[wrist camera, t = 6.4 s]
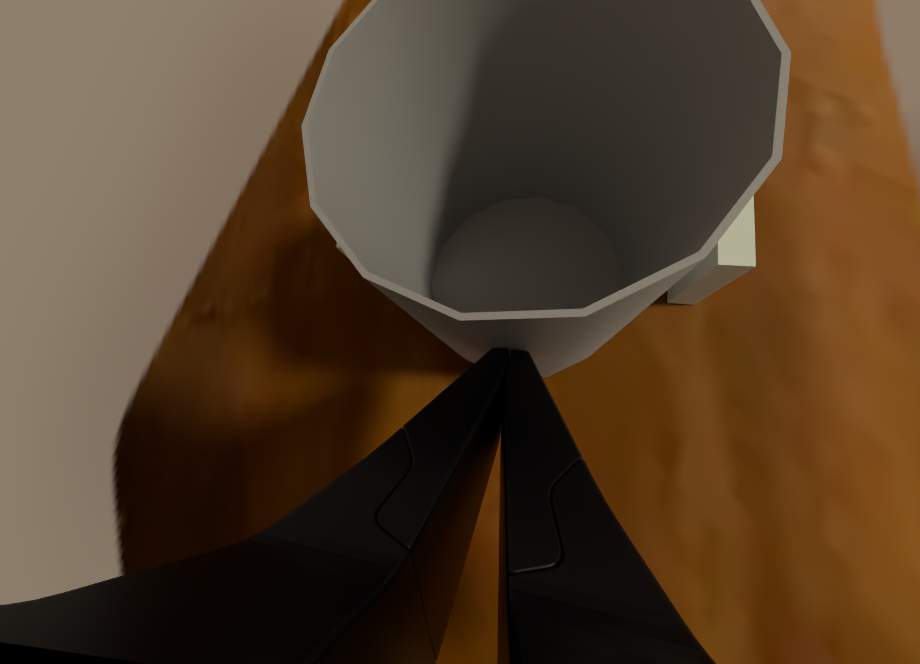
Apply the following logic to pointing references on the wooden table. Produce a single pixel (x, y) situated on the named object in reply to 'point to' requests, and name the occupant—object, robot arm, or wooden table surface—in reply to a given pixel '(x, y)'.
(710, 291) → the u-shaped wall frame
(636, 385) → the wooden table surface
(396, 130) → the cup
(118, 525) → the wooden table surface
